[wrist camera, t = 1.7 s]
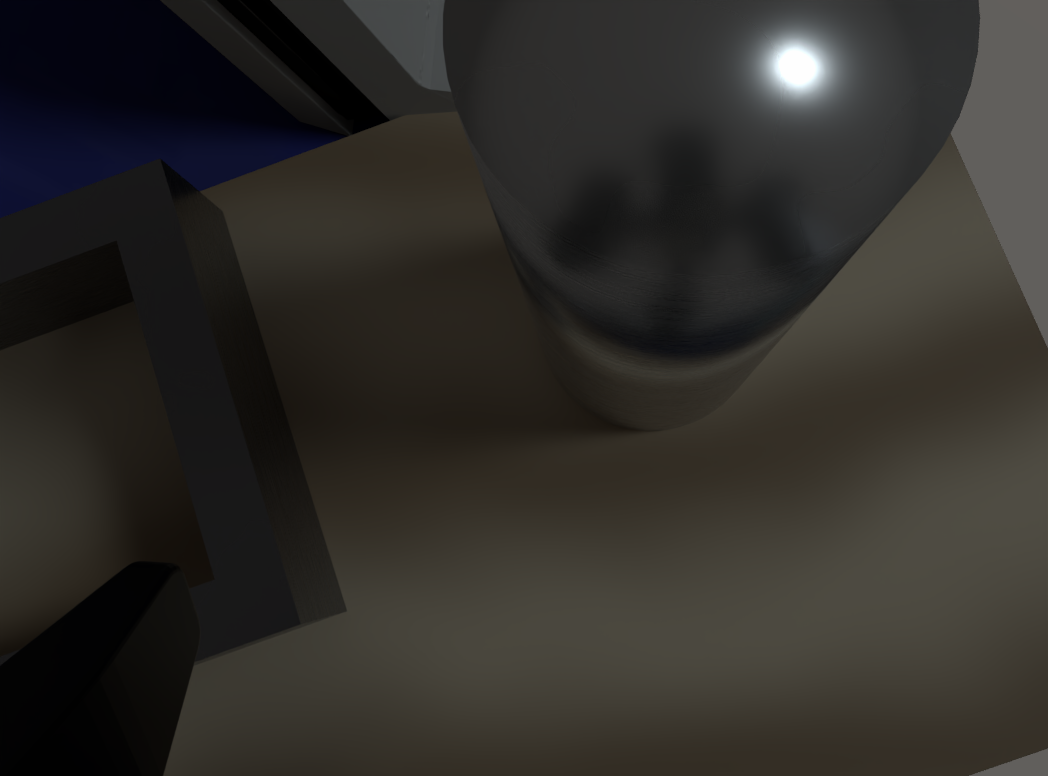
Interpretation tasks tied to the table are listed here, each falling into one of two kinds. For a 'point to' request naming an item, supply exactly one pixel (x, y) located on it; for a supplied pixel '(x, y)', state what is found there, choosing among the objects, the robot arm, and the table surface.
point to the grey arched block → (332, 54)
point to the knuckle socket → (186, 383)
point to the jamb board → (576, 504)
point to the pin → (694, 170)
